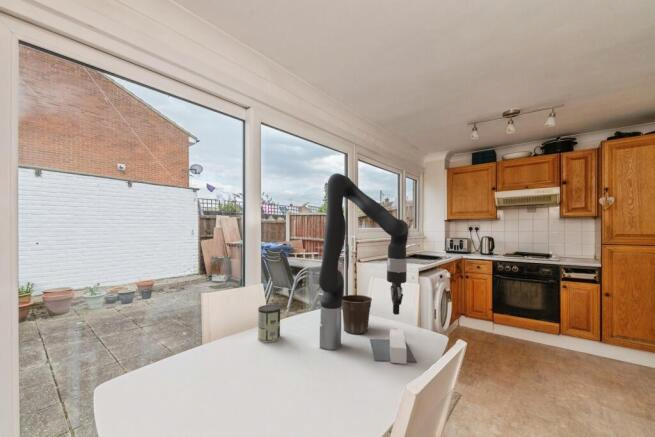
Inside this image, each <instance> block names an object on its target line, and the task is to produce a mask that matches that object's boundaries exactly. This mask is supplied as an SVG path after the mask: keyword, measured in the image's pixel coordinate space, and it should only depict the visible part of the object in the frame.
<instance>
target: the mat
mask: <svg viewBox="0 0 655 437" xmlns="http://www.w3.org/2000/svg"><path fill="white" fill-rule="evenodd" d="M369 342H370V347H371V349H372V355H373V357H374V361H375V362H388V363H389V362H390V338H389V339H387V338H386V339H385V338H383V339H382V338H370V339H369ZM405 342H406V348H407V350H406V363H413V364H416V363H417V361H418V360H416V358H415V356H414V354H413V352H412V350H411V349H410V347H409V345H408V343H407V341H406V340H405ZM390 363H391V362H390ZM417 364H418V363H417Z"/></svg>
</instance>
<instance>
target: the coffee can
mask: <svg viewBox="0 0 655 437" xmlns="http://www.w3.org/2000/svg"><path fill="white" fill-rule="evenodd" d="M257 312H258V314H257V315H258V319H257V321H258V322H257V323H258V324H257V326H258V327H257V328H258V329H257V340H258V341H259V342H263V343H272V342H276V341H279V340H280V339H281V306H280V305H277V304H265V305H261V306H258V308H257Z"/></svg>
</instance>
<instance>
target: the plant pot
mask: <svg viewBox="0 0 655 437" xmlns="http://www.w3.org/2000/svg"><path fill="white" fill-rule="evenodd" d="M372 301H373V298H372V297H370V296H366V295H363V294H362V295H361V294H347V295H343V299H342V306H341V311H342V319H343V320H342V321H343V331H344V332H346V333H348V334H352V335H361V334H366V333H368V331H369V322H370V321H369V320H370V311H371V307H372Z"/></svg>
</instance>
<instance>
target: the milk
mask: <svg viewBox="0 0 655 437" xmlns="http://www.w3.org/2000/svg"><path fill="white" fill-rule="evenodd" d="M389 339H390V363H393V364H403V365H407V362H406V350H407V348H406V343H407V341H406V338H405V331H404V330H402V329H398V328H395V329H394V328H392V329H389ZM405 341H406V342H405Z"/></svg>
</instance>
